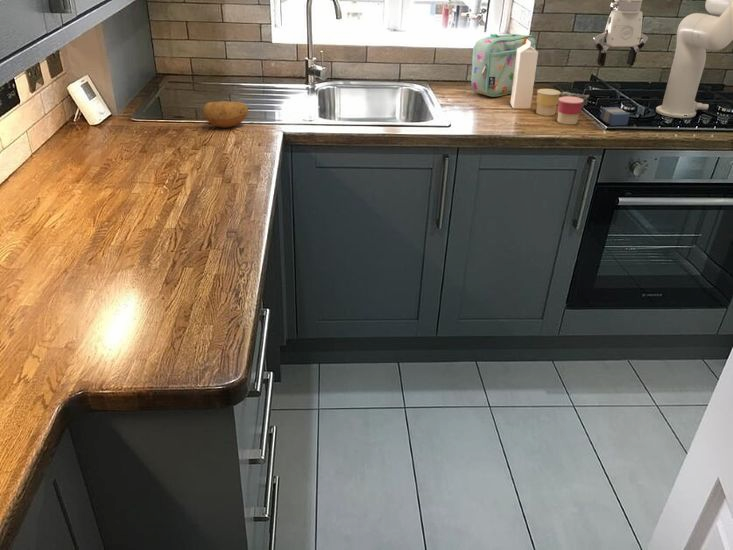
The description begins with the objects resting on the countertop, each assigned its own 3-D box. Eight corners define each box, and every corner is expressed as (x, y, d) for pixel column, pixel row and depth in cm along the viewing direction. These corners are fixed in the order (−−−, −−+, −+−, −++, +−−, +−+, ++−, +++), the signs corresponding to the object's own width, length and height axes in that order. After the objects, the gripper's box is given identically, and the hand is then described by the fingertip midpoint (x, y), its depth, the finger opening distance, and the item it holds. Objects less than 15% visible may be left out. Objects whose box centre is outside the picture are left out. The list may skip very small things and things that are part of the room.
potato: (250, 129, 191) (248, 104, 187) (204, 132, 189) (201, 106, 185) (249, 120, 200) (246, 96, 195) (205, 123, 197) (201, 98, 193)
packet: (615, 117, 204) (617, 107, 202) (627, 125, 197) (629, 113, 195) (599, 118, 203) (602, 107, 201) (610, 125, 196) (613, 114, 194)
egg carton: (551, 104, 218) (553, 92, 216) (560, 99, 223) (562, 88, 221) (580, 109, 212) (582, 97, 210) (589, 104, 217) (591, 93, 215)
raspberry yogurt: (577, 118, 203) (581, 96, 199) (581, 125, 196) (585, 103, 193) (553, 117, 204) (557, 95, 200) (556, 124, 197) (560, 102, 194)
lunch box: (485, 101, 220) (492, 38, 209) (465, 95, 228) (470, 34, 217) (534, 90, 234) (542, 31, 223) (514, 84, 241) (521, 27, 230)
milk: (513, 108, 213) (521, 42, 201) (509, 103, 218) (517, 38, 206) (530, 108, 213) (539, 42, 201) (527, 103, 218) (535, 38, 206)
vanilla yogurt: (555, 110, 211) (558, 89, 207) (558, 116, 205) (561, 94, 201) (533, 109, 212) (536, 88, 208) (535, 115, 206) (538, 94, 202)
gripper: (605, 8, 180) (594, 68, 188) (661, 7, 181) (647, 67, 190) (594, 5, 186) (584, 63, 195) (648, 4, 188) (635, 62, 197)
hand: (615, 65), depth 193 cm, fingers open, 9 cm apart
